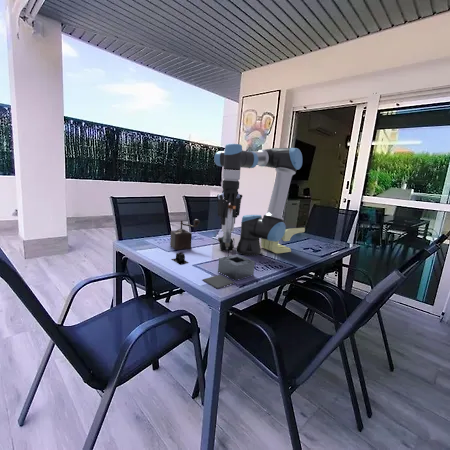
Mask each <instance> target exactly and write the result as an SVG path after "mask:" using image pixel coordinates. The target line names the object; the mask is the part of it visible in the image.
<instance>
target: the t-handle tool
mask: <svg viewBox="0 0 450 450" xmlns="http://www.w3.org/2000/svg"><path fill="white" fill-rule="evenodd" d="M235 207H236V206H234V205H230V204H229V206H228V210H227V215H226V218H227V232H223V234H222V237H223V242H224V243H230V242H231V239H232V231H231V229H232V216H233V209H235Z"/></svg>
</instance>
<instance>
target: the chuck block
mask: <svg viewBox="0 0 450 450" xmlns="http://www.w3.org/2000/svg"><path fill="white" fill-rule="evenodd" d="M255 265H256V261H255V260H252V259H250V258H247V257H245V256H243V255H240V254H231V255H228V256H223V257H219V258H218V265H217V273H219V272H220V273H219V274H221V273H222V274H221V275H223V274H224V275H223V276H225V275H226V276H225V277H227V276H228V277H229V278H228V277H227V278H228V279H230V278H231V279H230V280H232V279H234V280H237V281H239V280H238V279H240V280H243V279H245V277H247V278H249V277H248V276H250V277H252V276H251V275H253V276H254V275H255ZM242 278H243V279H242ZM234 280H233V281H234Z"/></svg>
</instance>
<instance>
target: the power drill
mask: <svg viewBox="0 0 450 450" xmlns="http://www.w3.org/2000/svg"><path fill="white" fill-rule="evenodd" d="M217 240H218V243H219V249H220V251H222V252H232V251H233V249H234V246H235V244H234V240H235V238H231V242H230V243H224V242H223V236H221V237H217Z"/></svg>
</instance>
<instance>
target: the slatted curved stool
mask: <svg viewBox="0 0 450 450" xmlns="http://www.w3.org/2000/svg"><path fill="white" fill-rule="evenodd" d="M305 231H306V227H295V228H286V230H285V233H284V236H283V237H282V238H281V239H280V240H279V241H277V242H274V241H268V240H265V239H261V238H260V242H261V243H260V248H261V249H262V248H263V249H265V250H267V251H269V252H271V253H274V254H283V253H291V252H292V250H291V249H292V248H290V247H289V246H288V247H287V246H285V245H282V244H280V243H279V242H280V241H283V242H289V241H291V238H292V237H293V236H294V235H296V234H301V233H305Z"/></svg>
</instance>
